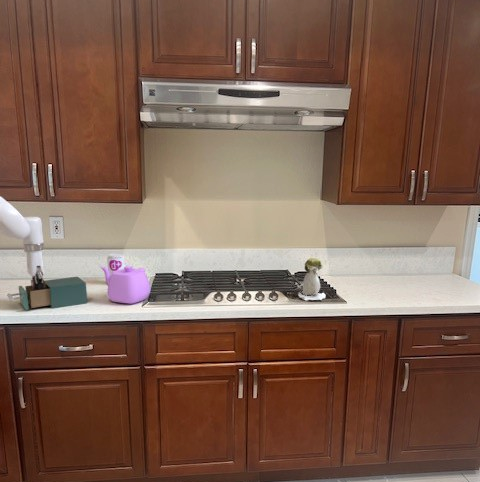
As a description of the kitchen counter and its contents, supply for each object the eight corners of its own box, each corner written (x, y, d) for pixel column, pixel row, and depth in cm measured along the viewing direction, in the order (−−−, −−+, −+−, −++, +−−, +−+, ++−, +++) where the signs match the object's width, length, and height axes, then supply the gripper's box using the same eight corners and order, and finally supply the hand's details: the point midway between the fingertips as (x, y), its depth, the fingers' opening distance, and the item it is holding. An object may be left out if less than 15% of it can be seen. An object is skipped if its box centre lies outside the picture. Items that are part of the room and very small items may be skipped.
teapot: (160, 294, 214) (159, 262, 210) (135, 307, 195) (133, 272, 191) (118, 289, 222) (116, 258, 218) (89, 301, 202) (87, 267, 198)
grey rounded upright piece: (293, 299, 211) (295, 259, 206) (303, 292, 222) (305, 254, 217) (319, 302, 206) (321, 262, 201) (327, 295, 217) (330, 257, 212)
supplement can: (123, 286, 226) (122, 256, 222) (106, 286, 226) (105, 256, 222) (127, 282, 234) (126, 253, 230) (111, 282, 234) (109, 253, 230)
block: (34, 293, 190) (32, 282, 189) (31, 290, 194) (30, 280, 193) (45, 291, 193) (44, 281, 192) (43, 289, 197) (42, 278, 195)
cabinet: (51, 308, 192) (49, 287, 189) (44, 300, 202) (42, 280, 199) (87, 303, 200) (85, 282, 197) (79, 296, 210) (77, 276, 207)
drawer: (12, 311, 184) (10, 294, 182) (7, 304, 193) (5, 287, 191) (60, 304, 194) (58, 287, 192) (53, 298, 203) (52, 281, 201)
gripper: (20, 245, 193) (25, 287, 198) (28, 251, 180) (33, 297, 185) (39, 243, 197) (43, 285, 202) (48, 250, 184) (53, 294, 189)
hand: (38, 290), depth 193 cm, fingers closed on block, 4 cm apart
